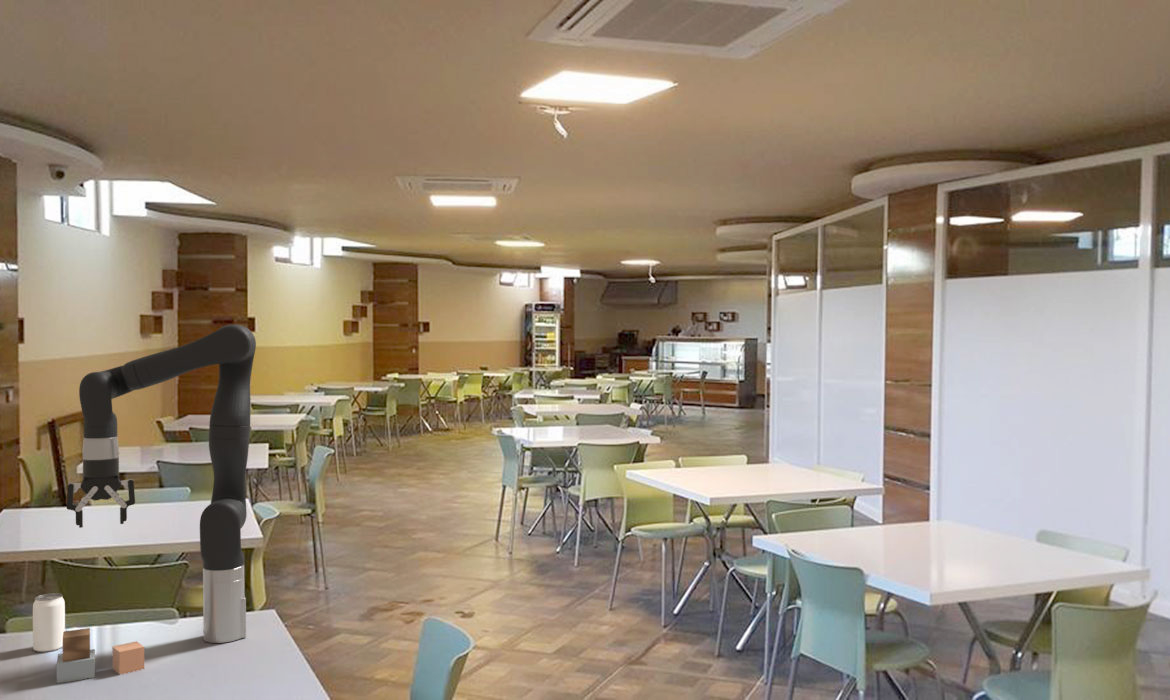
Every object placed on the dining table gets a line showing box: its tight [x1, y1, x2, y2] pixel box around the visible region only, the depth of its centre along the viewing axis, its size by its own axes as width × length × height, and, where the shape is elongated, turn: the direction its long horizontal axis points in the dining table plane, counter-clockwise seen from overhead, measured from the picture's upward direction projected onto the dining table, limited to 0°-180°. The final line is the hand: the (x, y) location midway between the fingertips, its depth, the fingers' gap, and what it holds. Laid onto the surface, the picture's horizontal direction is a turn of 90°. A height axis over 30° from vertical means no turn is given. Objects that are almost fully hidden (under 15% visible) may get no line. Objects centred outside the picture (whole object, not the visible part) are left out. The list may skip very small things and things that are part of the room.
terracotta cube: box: [112, 640, 145, 675], centre depth 203 cm, size 5×5×5 cm
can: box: [32, 592, 66, 653], centre depth 216 cm, size 6×6×12 cm
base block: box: [56, 648, 96, 684], centre depth 199 cm, size 7×7×4 cm
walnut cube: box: [62, 627, 91, 662], centre depth 199 cm, size 5×5×5 cm
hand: (101, 525), depth 219 cm, fingers open, 8 cm apart
